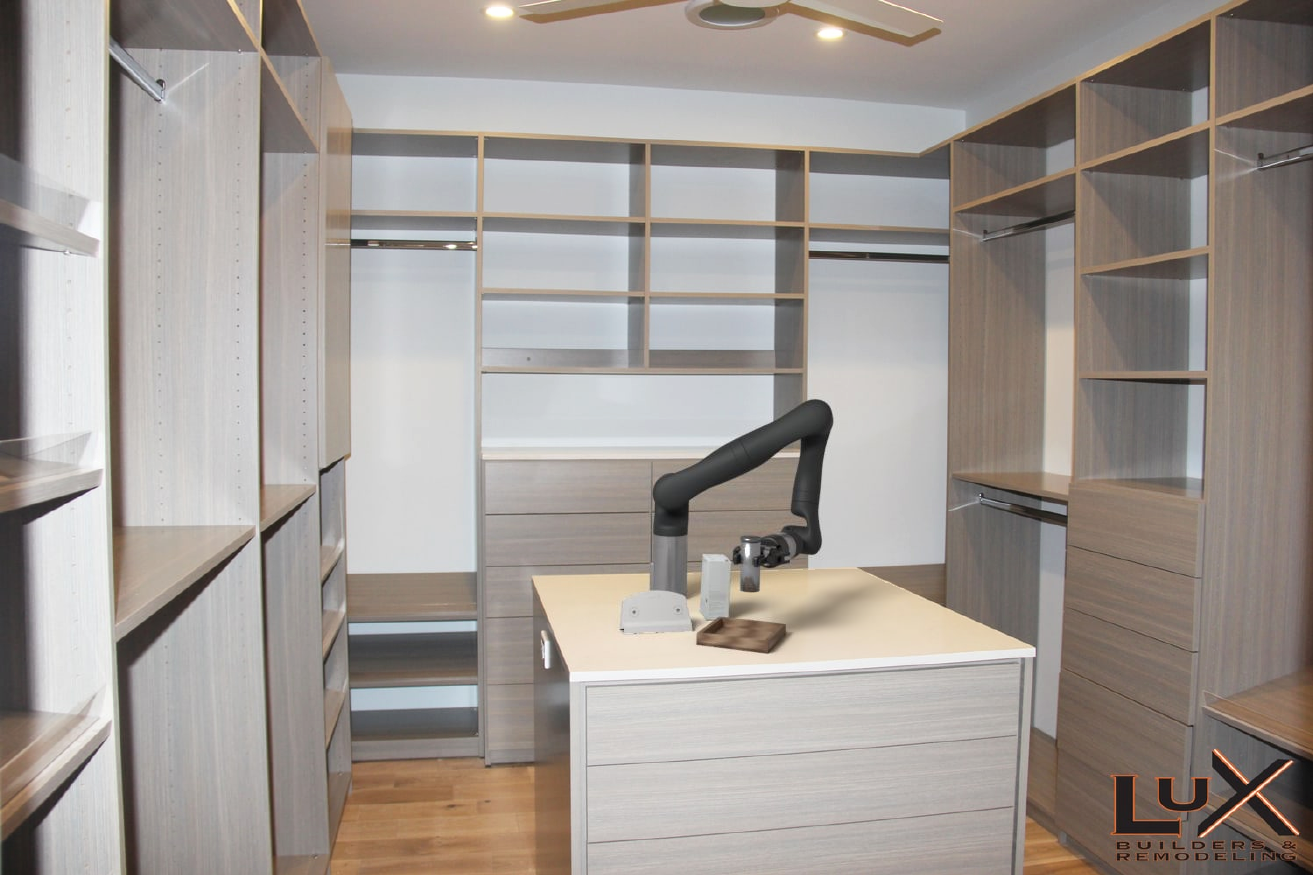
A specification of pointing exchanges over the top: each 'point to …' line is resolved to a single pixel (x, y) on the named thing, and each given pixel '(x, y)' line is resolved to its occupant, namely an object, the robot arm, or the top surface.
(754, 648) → the walnut tray
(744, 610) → the top surface
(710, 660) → the top surface
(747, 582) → the steel canister
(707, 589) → the skincare box
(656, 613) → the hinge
